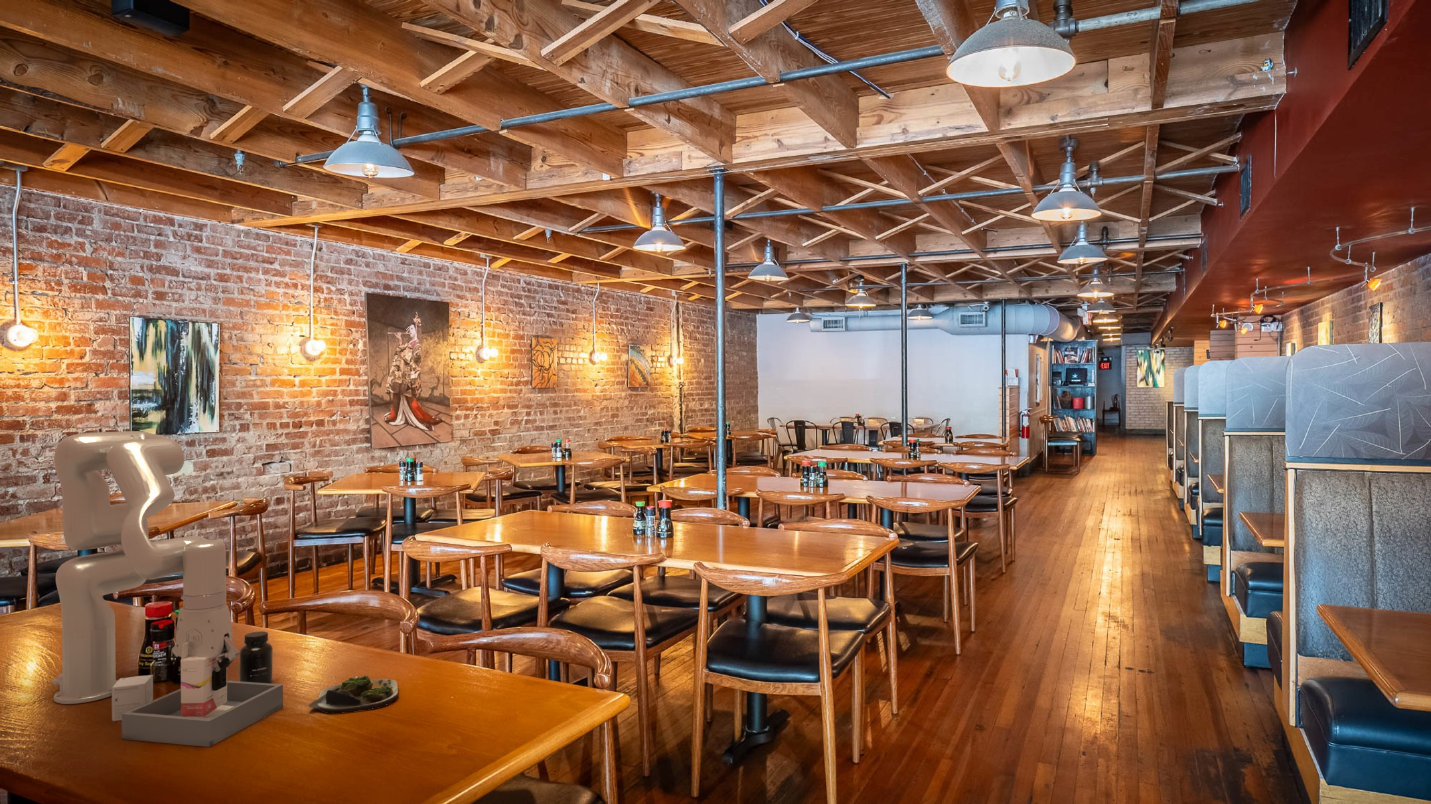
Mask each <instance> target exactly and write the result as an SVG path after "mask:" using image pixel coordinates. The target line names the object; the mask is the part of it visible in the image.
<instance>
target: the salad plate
mask: <svg viewBox="0 0 1431 804" xmlns="http://www.w3.org/2000/svg"><path fill="white" fill-rule="evenodd" d="M373 686H374V687H375V686H383V687H381V688H380V687H376V688H374V689H372V687H373ZM398 686H399V684H398V682H397V681H396V680H395V679H390V678H377V679H373V680H372V679H370V677H369V676H368V675H363V676H359V675H354V676H353V677H349V678H348V679H345V680H344V681H343V682H342V683H340V684H335V685H331V686H329V687H325V688H324V689H322V690H321V692H320V693H319V696H318V699H315V700H313V701H312V702H311V703H309V705H308V707H309V709H311V708H313V709H316V710H319V711H320V712H322V713H325V712H327V713H326V714H330V713H340V714H343V713H342V712H351V713H355V712H354V711H359V710H367V711H369V710H368V709H372V708H377V709H379V708H378V707H380V708H382V707H381V706H384V705H386V704H388V705H390V704H392V703H393V702H394V701H395V700H396V699H397V697H398V696H399V687H398ZM392 701H393V702H392ZM391 702H392V703H391ZM389 703H390V704H389ZM386 706H387V705H386ZM384 707H385V706H384ZM372 710H373V709H372ZM359 712H360V711H359Z"/></svg>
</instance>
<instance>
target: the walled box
mask: <svg viewBox="0 0 1431 804" xmlns="http://www.w3.org/2000/svg"><path fill="white" fill-rule="evenodd" d="M282 708H284V684H283V683H282V684H280V683H271V684H268V683H254V682H240V681H239V680H238V681H237V680H227V702H226V703H224V704H223V705H221V706H219V707H218V708H216V709H215V710H213V711H212V712H210V713H209V714H207V715H206V716H201V717H181V688H179V689H177V690H175V691H171V692H169V693H168V694H164V695H162V696H160V697H158V698H155V699H153V701H151V702H148V703H146V704H144V705H141V706H139V707H137V708H134V709H132V710H130V711H127V712H125V713H123V714H122V720H121V739H122V740H127V741H128V740H129V741H138V742H139V741H140V742H151V743H162V744H163V743H164V744H172V745H173V744H175V745H183V746H184V745H185V746H196V747H197V746H198V747H205V748H210V747H212V746H214V745H216V744H218V743H219V742H221V741H223V740H225V739H227V738H229V737H230V736H232V735H234V734H236V733H238V732H241V731H242V730H244V729H246V728H247V727H249V726H251V725H253V724H256V723H257V722H260V720H263V719H264V718H266V717H268V716H270V715H272V714H274V713H276V712H277V711H279V710H281V709H282Z"/></svg>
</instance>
